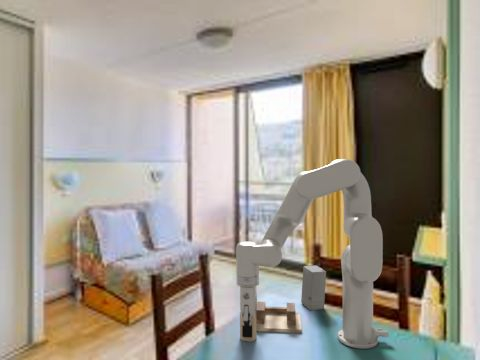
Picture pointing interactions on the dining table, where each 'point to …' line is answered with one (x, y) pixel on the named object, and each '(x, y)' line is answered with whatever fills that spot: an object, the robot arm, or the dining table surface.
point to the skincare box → (313, 287)
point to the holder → (278, 318)
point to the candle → (254, 332)
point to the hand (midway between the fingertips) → (248, 331)
